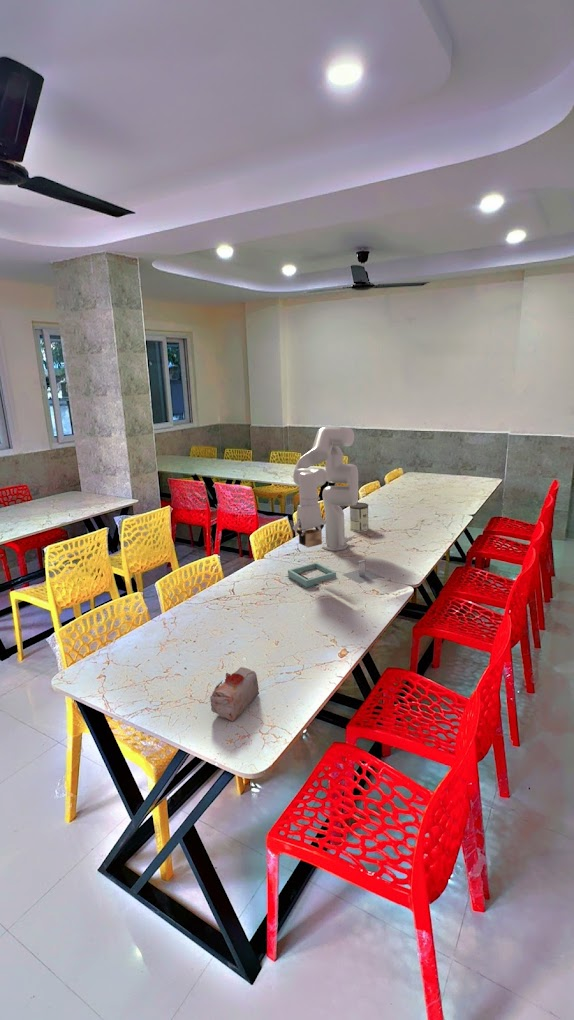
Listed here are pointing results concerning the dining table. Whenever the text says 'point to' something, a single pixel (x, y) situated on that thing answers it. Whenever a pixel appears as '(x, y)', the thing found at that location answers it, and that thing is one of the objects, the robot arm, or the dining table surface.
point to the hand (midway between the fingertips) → (310, 541)
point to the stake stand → (361, 574)
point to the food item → (234, 693)
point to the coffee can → (359, 517)
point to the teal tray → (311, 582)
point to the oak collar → (312, 537)
